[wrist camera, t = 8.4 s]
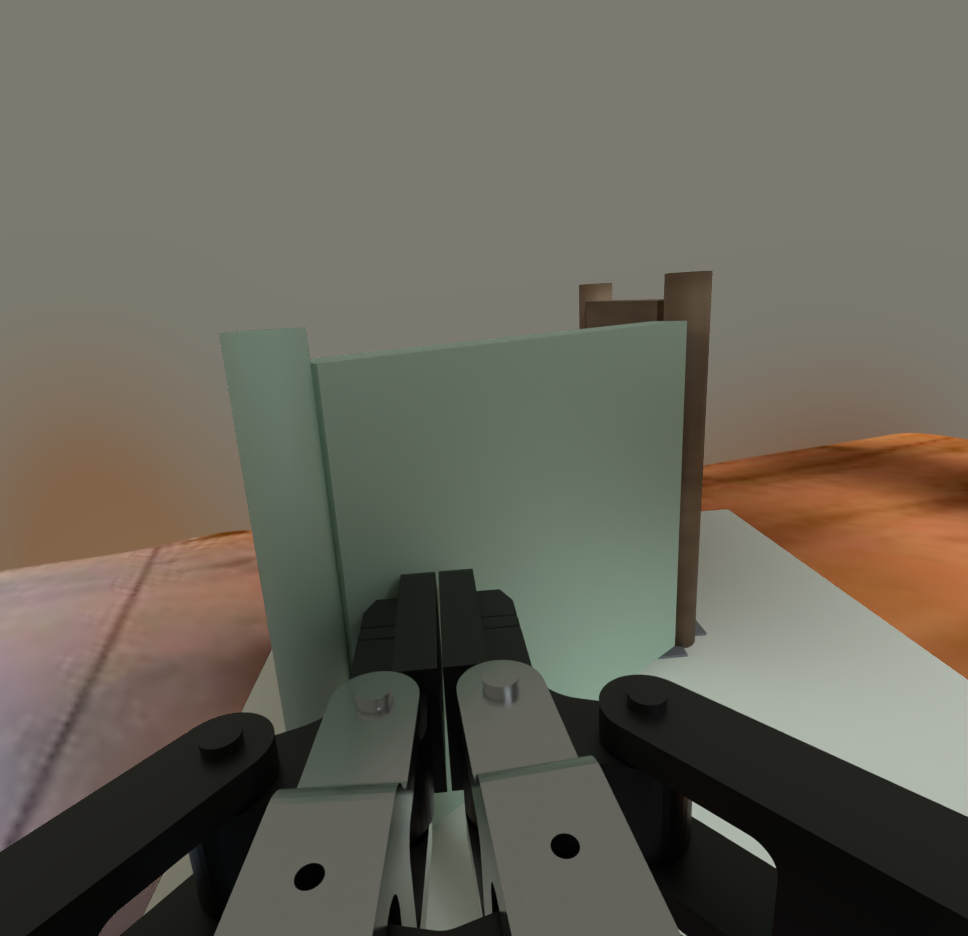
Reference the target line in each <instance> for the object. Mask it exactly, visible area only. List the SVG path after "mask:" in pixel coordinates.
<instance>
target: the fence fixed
mask: <svg viewBox="0 0 968 936" xmlns="http://www.w3.org/2000/svg"><path fill="white" fill-rule="evenodd" d="M711 290H712V271H697V272H681V273H669V274H665V284H664V299H648V300H612V283H602V284H585V285H579V310H580V311H579V312H580V313H579V314H580V329H586V328H595V327H604V326H613V325H622V324H632V323H641V322H650V321H687V338H686V365H685V391H684V417H683V444H682V470H681V496H680V523H679V549H678V575H677V602H676V628H675V646H682V647H683V648H688V647H690V646H692V645H693V644H694V642H695V625H696V604H697V583H698V562H699V541H700V520H701V500H702V479H703V458H704V437H705V436H704V435H705V415H706V395H707V375H708V354H709V333H710V311H711Z"/></svg>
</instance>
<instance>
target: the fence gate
mask: <svg viewBox="0 0 968 936" xmlns="http://www.w3.org/2000/svg"><path fill="white" fill-rule="evenodd" d="M219 337H220V343H221V349H222V355H223V361H224V367H225V373H226V379H227V385H228V391H229V396H230V402H231V408H232V414H233V420H234V426H235V432H236V438H237V444H238V450H239V456H240V462H241V468H242V474H243V480H244V486H245V491H246V497H247V504H248V509H249V515H250V521H251V527H252V533H253V539H254V545H255V551H256V557H257V563H258V569H259V575H260V581H261V587H262V593H263V599H264V605H265V611H266V617H267V622H268V628H269V634H270V640H271V646H272V652H273V658H274V664H275V670H276V676H277V682H278V688H279V694H280V700H281V706H282V712H283V718H284V724H285V729H286V731H290V730H293V729H296V728H299V727H302V726H305V725H307V724H310V723H312V722H314V721H316V720H319V719H320V718H322V717H323V716H324V713H325V711H326V708H327V705H328V703H329V700H330V698H331V696H332V694H333V693H334V692H335V691H336V690H337V689H338V688H339V687H340V686H341V685H343V684H344V683H345V682H347V681H349V678H350V673H351V669H352V664H353V659H354V655H355V650H356V645H357V643H358V636H359V631H360V626H361V622H362V617H363V613H364V612H365V611H366V610H367V609H368V608H369V607H370V606H371V605H372V604H373V603H374V602H375V601H376V600H381V599H393V598H398V595H399V585H400V576H401V574H413V573H425V572H435V575H436V586H437V599H438V612H439V625H440V637H441V620H440V594H439V571H448V570H460V569H471V568H473V574H474V579H475V585H476V591H483V590H495V589H500V590H501V591H502V592H504V593H505V594H506V595H507V596H509V597H510V598H511V599H512V600H513V602H514V606H515V609H516V613H517V616H518V620H519V623H520V628H521V630H522V633H523V637H524V640H525V644H526V647H527V651H528V654H529V658H530V661H531V664H532V667H533V668H534V669H536V670H537V671H538V672H539V673H540V674H541V675H542V677H543V679H544V681H545V683H546V685H547V687H548V688H549V689H551V690H553V691H554V692H557V693H559V694H562V695H565V696H569V697H574V698H580V699H589V700H597V701H599V694H600V691H601V690H602V688H603V687H604V686H605V685H606V684H607V683H608V682H610V681H612V680H614V679H616V678H618V677H622V676H626V675H636V674H638V673H639V672H640V671H642V670H643V669H644V668H646V667H647V666H648V665H650V664H651V663H652V662H654V661H655V660H656V659H658V658H659V657H660V656H662V655H663V654H664V653H666V652H667V651H668V650H670V649H671V648H672V647H674V646H675V628H676V602H677V575H678V549H679V523H680V496H681V470H682V444H683V417H684V391H685V365H686V338H687V321H650V322H641V323H632V324H622V325H613V326H604V327H595V328H586V329H577V330H568V331H558V332H550V333H541V334H531V335H522V336H513V337H504V338H495V339H485V340H476V341H467V342H458V343H450V344H440V345H430V346H422V347H413V348H403V349H394V350H386V351H376V352H367V353H358V354H348V355H339V356H331V357H321V358H312V359H310V355H309V347H308V340H307V332H306V328H281V329H263V330H249V331H235V332H224V333H219ZM441 652H442V646H441ZM443 694H444V682H443ZM444 720H445V745H446V771H447V792H443V793H434V816H433V819H432V822H431V823H432V827H433V826H434V825H435V824H437V823H438V822H439V821H441V820H442V819H444V818H445V817H446V816H448V815H449V814H450V813H452V812H453V811H454V810H456V809H457V808H458V807H460V806H461V805H462V804H464V790H459V791H452V785H451V772H450V759H449V746H448V734H447V721H446V708H445V695H444Z"/></svg>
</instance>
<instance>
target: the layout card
mask: <svg viewBox="0 0 968 936" xmlns="http://www.w3.org/2000/svg"><path fill="white" fill-rule="evenodd" d="M639 674H641V675H651V676H657V677H660V678H664V679H666V680H669V681H672V682H674V683H676V684H678V685H680V686H682V687H685V688H687V689H689V690H691V691H693V692H696V693H698V694H700V695H702V696H704V697H707V698H709V699H711V700H713V701H715V702H718V703H720V704H722V705H724V706H726V707H729V708H731V709H733V710H735V711H737V712H739V713H742V714H744V715H746V716H748V717H750V718H753V719H755V720H757V721H759V722H761V723H764V724H766V725H768V726H770V727H772V728H775V729H777V730H779V731H781V732H783V733H785V734H788V735H790V736H792V737H794V738H796V739H799V740H801V741H803V742H805V743H807V744H810V745H812V746H814V747H816V748H818V749H821V750H823V751H825V752H827V753H829V754H831V755H834V756H836V757H838V758H840V759H842V760H845V761H847V762H849V763H851V764H853V765H856V766H858V767H860V768H862V769H864V770H867V771H869V772H871V773H873V774H875V775H877V776H880V777H882V778H884V779H886V780H888V781H891V782H893V783H895V784H897V785H899V786H902V787H904V788H906V789H908V790H910V791H913V792H915V793H917V794H919V795H921V796H923V797H926V798H928V799H930V800H932V801H934V802H937V803H939V804H941V805H943V806H945V807H948V808H950V809H952V810H954V811H956V812H959V813H961V814H963V815H965V816H967V817H968V680H967V679H966V678H964V677H963V676H961V675H960V674H959V673H957V672H956V671H954V670H953V669H952V668H950V667H949V666H947V665H946V664H945V663H943V662H942V661H940V660H939V659H938V658H936V657H935V656H933V655H932V654H931V653H929V652H928V651H926V650H925V649H924V648H922V647H921V646H919V645H918V644H917V643H915V642H914V641H912V640H911V639H910V638H908V637H907V636H905V635H904V634H902V633H901V632H900V631H898V630H897V629H895V628H894V627H893V626H891V625H890V624H888V623H887V622H886V621H884V620H883V619H881V618H880V617H879V616H877V615H876V614H874V613H873V612H872V611H870V610H869V609H867V608H866V607H865V606H863V605H862V604H860V603H859V602H858V601H856V600H855V599H853V598H852V597H851V596H849V595H848V594H846V593H845V592H844V591H842V590H841V589H839V588H838V587H836V586H835V585H834V584H832V583H831V582H829V581H828V580H827V579H825V578H824V577H822V576H821V575H820V574H818V573H817V572H815V571H814V570H813V569H811V568H810V567H808V566H807V565H806V564H804V563H803V562H801V561H800V560H799V559H797V558H796V557H794V556H793V555H792V554H790V553H789V552H787V551H786V550H785V549H783V548H782V547H780V546H779V545H778V544H776V543H775V542H773V541H772V540H770V539H769V538H768V537H766V536H765V535H763V534H762V533H761V532H759V531H758V530H756V529H755V528H754V527H752V526H751V525H749V524H748V523H747V522H745V521H744V520H742V519H741V518H740V517H738V516H737V515H735V514H734V513H733V512H731V511H730V510H728V509H725V510H712V511H701V520H700V541H699V562H698V583H697V604H696V625H695V642H694V644H693V645H692V646H690V647H688V648H683V647H682V646H674V647H672V648H671V649H670V650H668V651H667V652H666V653H664V654H663V655H662V656H660V657H659V658H658V659H656V660H655V661H654V662H652V663H651V664H650V665H648V666H647V667H646V668H644V669H643V670H642V671H640V672H639V673H638V674H636V675H639ZM242 712H248V713H256V714H259V715H262V716H264V717H266V718H267V719H269V720H270V722H271V723H272V725H273V727H274V731H275V735H277V734H280V733H283V732H286V729H285V724H284V718H283V712H282V706H281V700H280V694H279V688H278V682H277V676H276V670H275V664H274V658H273V652H272V650H271V652H270V654H269V656H268V658H267V660H266V663H265V665H264V667H263V669H262V671H261V673H260V675H259V677H258V679H257V681H256V683H255V685H254V687H253V689H252V691H251V694H250V696H249V698H248V700H247V702H246V704H245V706H244V708H243V710H242ZM692 817H694V818H695V819H697V820H699V821H700V822H702V823H704V824H705V825H707V826H708V827H710V828H712V829H713V830H715V831H717V832H718V833H720V834H721V835H723V836H725V837H726V838H728V839H729V840H731V841H733V842H734V843H736V844H738V845H739V846H741V847H742V848H744V849H746V850H747V851H749V852H751V853H752V854H754V855H755V856H757V857H759V858H760V859H762V860H763V861H765V862H767V863H768V864H770V865H772V866H773V867H775V864H774V862H773V860H772V858H771V857H770V855H769V854H768V852H767V851H766V850H765V849H764V847H763V846H762V845H761V844H760V843H759V842H757V841H756V840H755V839H754V838H752V837H751V836H749V835H748V834H746V833H744V832H743V831H741V830H739V829H738V828H736V827H734V826H733V825H731V824H729V823H728V822H726V821H724V820H723V819H721V818H719V817H718V816H716V815H714V814H713V813H711V812H709V811H708V810H706V809H704V808H703V807H701V806H699V805H698V804H696V803H694V802H693V801H692ZM432 837H433V841H432V853H431V866H430V879H429V892H428V905H427V917H426V929H428V930H436V931H444V930H450V929H453V928H456V927H459V926H461V925H464V924H466V923H469V922H471V921H474V920H476V919H479V918H480V913H479V907H478V901H477V895H476V888H475V882H474V876H473V870H472V864H471V857H470V851H469V845H468V839H467V829H466V815H465V803H464V804H462V805H461V806H460V807H458V808H457V809H456V810H454V811H453V812H452V813H450V814H449V815H448V816H446V817H445V818H444V819H442V820H441V821H439V822H438V823H437V824H435V825H434V826H433V827H432ZM775 868H776V867H775ZM192 874H193V871H192V866H191V862H190V857H189V853H188V854H187V855H185V856H184V857H183V858H182V859H181V860H179V861H178V862H177V863H176V864H174V865H173V866H172V867H171V868H170V869H168V870H167V871H166V872H165V873H163V876H162V878H161V880H160V882H159V884H158V886H157V888H156V890H155V892H154V894H153V896H152V898H151V900H150V902H149V904H148V907H147V909H146V911H145V913H144V915H145V914H146V913H147V912H148V911H149V910H151V909H152V908H153V907H154V906H155V905H157V904H158V903H159V902H160V901H161V900H162V899H164V898H165V897H166V896H167V895H168V894H169V893H171V892H172V891H173V890H174V889H175V888H177V887H178V886H179V885H180V884H181V883H182V882H184V881H185V880H186V879H187V878H188V877H190V876H191V875H192ZM144 915H143V916H144ZM678 930H679V929H678ZM679 932H680V934H681V935H683V936H686V935H685V934H684V933H683V932H681V931H680V930H679Z"/></svg>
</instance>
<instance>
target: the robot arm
mask: <svg viewBox="0 0 968 936" xmlns="http://www.w3.org/2000/svg"><path fill="white" fill-rule="evenodd" d="M439 594H440V620H441V637H440V625H439V612H438V599H437V586H436V575H435V572H425V573H413V574H401V576H400V585H399V595H398V598H393V599H381V600H376V601H375V602H374V603H373V604H372V605H371V606H370V607H369V608H368V609H367V610H366V611H365V612H364V613H363V617H362V622H361V626H360V631H359V636H358V643H357V645H356V650H355V655H354V659H353V664H352V669H351V673H350V678H349V681H347V682H345V683H344V684H343V685H341V686H340V687H339V688H338V689H337V690H336V691H335V692H334V693H333V694H332V696H331V698H330V700H329V703H328V705H327V708H326V711H325V713H324V716H323V717H322V718H320V719H319V720H316V721H314V722H312V723H310V724H307V725H305V726H302V727H299V728H296V729H293V730H290V731H286V732H283V733H280V734H277V735H275V731H274V727H273V725H272V723H271V722H270V720H269V719H267V718H266V717H264V716H262V715H259V714H256V713H248V712H241V713H232V714H227V715H223V716H219V717H216V718H214V719H211V720H208V721H206V722H204V723H202V724H200V725H198V726H197V727H195V728H193V729H192V730H190V731H189V732H187V733H185V734H184V735H182V736H181V737H179V738H178V739H176V740H175V741H173V742H171V743H170V744H168V745H167V746H165V747H164V748H162V749H161V750H159V751H157V752H156V753H154V754H153V755H151V756H150V757H148V758H146V759H145V760H143V761H142V762H140V763H139V764H137V765H136V766H134V767H132V768H131V769H129V770H128V771H126V772H125V773H123V774H121V775H120V776H118V777H117V778H115V779H114V780H112V781H111V782H109V783H107V784H106V785H104V786H103V787H101V788H100V789H98V790H97V791H95V792H93V793H92V794H90V795H89V796H87V797H86V798H84V799H82V800H81V801H79V802H78V803H76V804H75V805H73V806H72V807H70V808H68V809H67V810H65V811H64V812H62V813H61V814H59V815H57V816H56V817H54V818H53V819H51V820H50V821H48V822H47V823H45V824H43V825H42V826H40V827H39V828H37V829H36V830H34V831H33V832H31V833H29V834H28V835H26V836H25V837H23V838H22V839H20V840H18V841H17V842H15V843H14V844H12V845H11V846H9V847H8V848H6V849H4V850H3V851H1V852H0V936H98V935H99V933H100V932H101V930H102V928H103V927H104V925H105V924H106V923H107V922H108V920H109V919H110V918H111V917H112V916H113V915H114V914H115V913H116V912H117V911H118V910H119V909H120V908H122V907H123V906H124V905H125V904H127V903H128V902H129V901H130V900H131V899H133V898H134V897H135V896H136V895H138V894H139V893H140V892H141V891H143V890H144V889H145V888H146V887H147V886H149V885H150V884H151V883H152V882H154V881H155V880H156V879H157V878H158V877H160V876H161V875H162V874H163V873H165V872H166V871H167V870H168V869H170V868H171V867H172V866H173V865H174V864H176V863H177V862H178V861H179V860H181V859H182V858H183V857H184V856H185V855H187V854H188V853H189V857H190V862H191V866H192V871H193V874H192V875H191V876H190V877H188V878H187V879H186V880H185V881H184V882H182V883H181V884H180V885H179V886H178V887H177V888H175V889H174V890H173V891H172V892H171V893H169V894H168V895H167V896H166V897H165V898H164V899H162V900H161V901H160V902H159V903H158V904H157V905H155V906H154V907H153V908H152V909H151V910H149V911H148V912H147V913H146V914H145V915H144V916H142V917H141V918H140V919H139V920H138V921H137V922H135V923H134V924H133V925H132V926H131V927H129V928H128V929H127V930H126V931H125V932H124V933H122V934H121V935H120V936H683V935H681V934H680V932H679V930H680V931H681V932H683V933H684V934H685V935H686V936H968V817H967V816H965V815H963V814H961V813H959V812H956V811H954V810H952V809H950V808H948V807H945V806H943V805H941V804H939V803H937V802H934V801H932V800H930V799H928V798H926V797H923V796H921V795H919V794H917V793H915V792H913V791H910V790H908V789H906V788H904V787H902V786H899V785H897V784H895V783H893V782H891V781H888V780H886V779H884V778H882V777H880V776H877V775H875V774H873V773H871V772H869V771H867V770H864V769H862V768H860V767H858V766H856V765H853V764H851V763H849V762H847V761H845V760H842V759H840V758H838V757H836V756H834V755H831V754H829V753H827V752H825V751H823V750H821V749H818V748H816V747H814V746H812V745H810V744H807V743H805V742H803V741H801V740H799V739H796V738H794V737H792V736H790V735H788V734H785V733H783V732H781V731H779V730H777V729H775V728H772V727H770V726H768V725H766V724H764V723H761V722H759V721H757V720H755V719H753V718H750V717H748V716H746V715H744V714H742V713H739V712H737V711H735V710H733V709H731V708H729V707H726V706H724V705H722V704H720V703H718V702H715V701H713V700H711V699H709V698H707V697H704V696H702V695H700V694H698V693H696V692H693V691H691V690H689V689H687V688H685V687H682V686H680V685H678V684H676V683H674V682H672V681H669V680H666V679H664V678H660V677H657V676H651V675H641V674H639V675H626V676H622V677H618V678H616V679H614V680H612V681H610V682H608V683H607V684H606V685H605V686H604V687H603V688H602V690H601V691H600V694H599V701H597V700H589V699H580V698H574V697H569V696H565V695H562V694H559V693H557V692H554V691H553V690H551V689H549V688H548V687H547V685H546V683H545V681H544V679H543V677H542V675H541V674H540V673H539V672H538V671H537V670H536V669H534V668H533V667H532V664H531V661H530V658H529V654H528V651H527V647H526V644H525V640H524V637H523V633H522V630H521V628H520V623H519V620H518V616H517V613H516V609H515V606H514V602H513V600H512V599H511V598H510V597H509V596H507V595H506V594H505V593H504V592H502V591H501V590H500V589H495V590H483V591H476V585H475V579H474V574H473V568H471V569H460V570H448V571H439ZM441 646H442V652H441ZM443 682H444V694H443ZM444 695H445V708H446V721H447V734H448V746H449V759H450V772H451V785H452V791H459V790H464V803H465V815H466V829H467V839H468V845H469V851H470V857H471V864H472V870H473V876H474V882H475V888H476V895H477V901H478V907H479V913H480V918H479V919H476V920H474V921H471V922H469V923H466V924H464V925H461V926H459V927H456V928H453V929H450V930H444V931H436V930H428V929H426V917H427V905H428V892H429V879H430V866H431V853H432V841H433V837H432V823H431V822H432V819H433V816H434V793H443V792H447V771H446V745H445V720H444ZM692 801H693V802H694V803H696V804H698V805H699V806H701V807H703V808H704V809H706V810H708V811H709V812H711V813H713V814H714V815H716V816H718V817H719V818H721V819H723V820H724V821H726V822H728V823H729V824H731V825H733V826H734V827H736V828H738V829H739V830H741V831H743V832H744V833H746V834H748V835H749V836H751V837H752V838H754V839H755V840H756V841H757V842H759V843H760V844H761V845H762V846H763V847H764V849H765V850H766V851H767V852H768V854H769V855H770V857H771V858H772V860H773V862H774V864H775V867H776V868H775V867H773V866H772V865H770V864H768V863H767V862H765V861H763V860H762V859H760V858H759V857H757V856H755V855H754V854H752V853H751V852H749V851H747V850H746V849H744V848H742V847H741V846H739V845H738V844H736V843H734V842H733V841H731V840H729V839H728V838H726V837H725V836H723V835H721V834H720V833H718V832H717V831H715V830H713V829H712V828H710V827H708V826H707V825H705V824H704V823H702V822H700V821H699V820H697V819H695V818H694V817H692ZM678 929H679V930H678Z"/></svg>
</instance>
